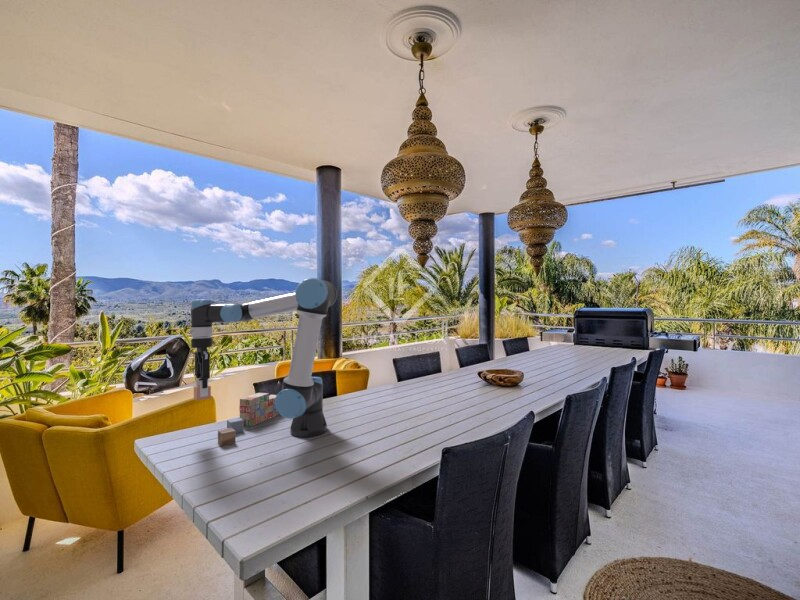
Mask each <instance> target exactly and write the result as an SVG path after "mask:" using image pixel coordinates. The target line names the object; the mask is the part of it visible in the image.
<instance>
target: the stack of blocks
mask: <svg viewBox="0 0 800 600" xmlns="http://www.w3.org/2000/svg"><path fill="white" fill-rule="evenodd" d="M269 394H270V393H269V392H268V393H266V392H256V393H253V394H250V395H246V396H245V397H242V398H239V418H241V419H242V420H243V425H246V426H245V427H249V426H251V427H253V426H255V425H254V424H256V425H258V424H260V423H259V422H261V423H262V421H263V422H265V421H267V420H269V419H268V418H270V417H272V418H274V417H276V416H275V415H277V416H279V415H280V414H279V412H278V411H277V409H276V407H275V398H276V396H277V394H270V395H269ZM278 414H279V415H278ZM273 416H274V417H273ZM266 419H267V420H266ZM270 419H271V418H270ZM264 420H265V421H264ZM257 423H258V424H257ZM252 425H253V426H252Z"/></svg>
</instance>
